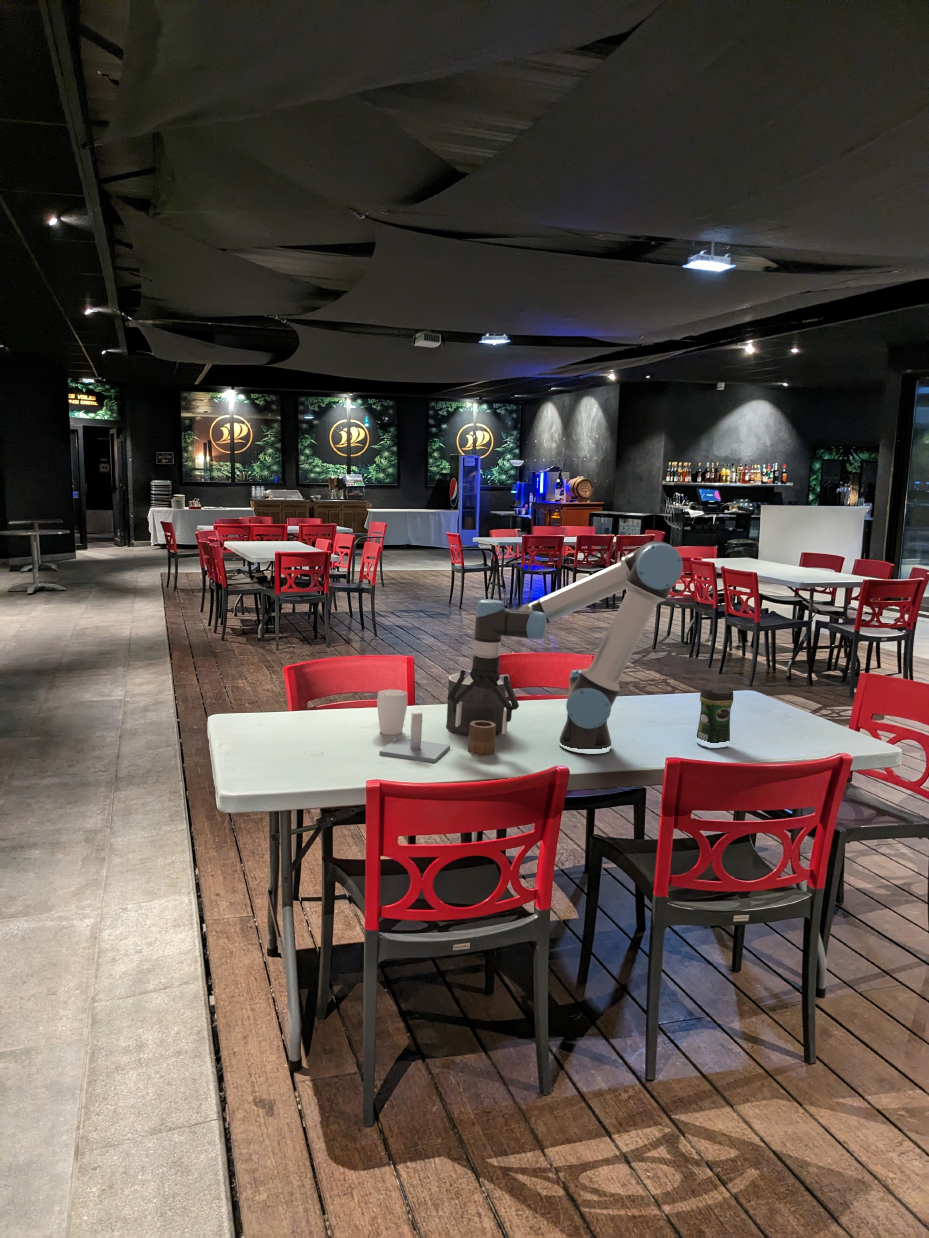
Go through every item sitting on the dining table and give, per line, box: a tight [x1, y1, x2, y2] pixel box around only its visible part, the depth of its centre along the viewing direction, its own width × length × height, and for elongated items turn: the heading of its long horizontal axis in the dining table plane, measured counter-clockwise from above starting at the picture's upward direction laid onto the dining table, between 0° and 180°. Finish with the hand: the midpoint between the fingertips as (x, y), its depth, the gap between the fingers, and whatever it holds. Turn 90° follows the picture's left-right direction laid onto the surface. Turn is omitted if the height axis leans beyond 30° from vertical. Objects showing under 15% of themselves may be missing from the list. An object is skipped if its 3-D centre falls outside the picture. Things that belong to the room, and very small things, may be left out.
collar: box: [467, 720, 497, 756], centre depth 241 cm, size 7×7×8 cm
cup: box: [376, 689, 408, 736], centre depth 255 cm, size 9×9×12 cm
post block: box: [379, 711, 451, 764], centre depth 238 cm, size 16×14×11 cm
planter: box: [446, 672, 507, 736], centre depth 264 cm, size 18×18×16 cm
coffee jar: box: [696, 685, 734, 743], centre depth 258 cm, size 10×8×19 cm
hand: (480, 728), depth 241 cm, fingers open, 13 cm apart
